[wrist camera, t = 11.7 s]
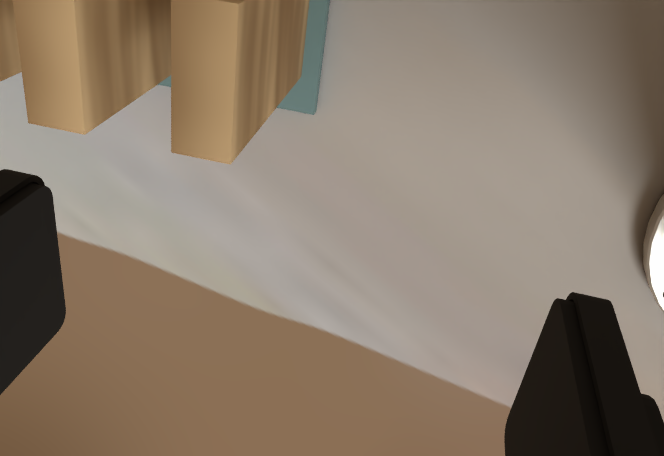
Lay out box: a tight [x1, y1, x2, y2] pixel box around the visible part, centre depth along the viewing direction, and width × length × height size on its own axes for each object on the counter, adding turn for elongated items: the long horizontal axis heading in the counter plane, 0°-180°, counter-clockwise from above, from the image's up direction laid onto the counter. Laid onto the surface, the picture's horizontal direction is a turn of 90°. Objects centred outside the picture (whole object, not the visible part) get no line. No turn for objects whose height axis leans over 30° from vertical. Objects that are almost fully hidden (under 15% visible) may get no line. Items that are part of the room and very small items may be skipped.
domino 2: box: [171, 0, 309, 164], centre depth 23 cm, size 2×5×10 cm, turn 173°
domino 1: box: [13, 0, 171, 135], centre depth 24 cm, size 2×5×10 cm, turn 173°
